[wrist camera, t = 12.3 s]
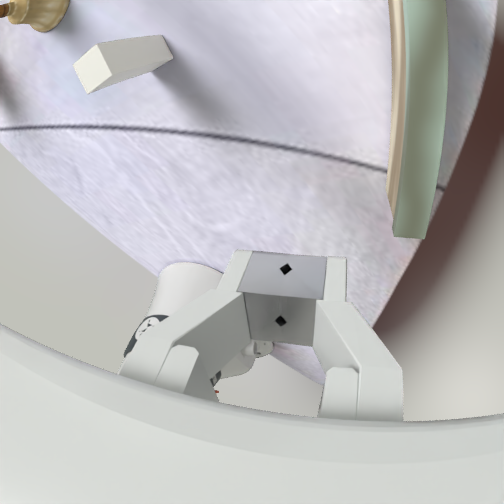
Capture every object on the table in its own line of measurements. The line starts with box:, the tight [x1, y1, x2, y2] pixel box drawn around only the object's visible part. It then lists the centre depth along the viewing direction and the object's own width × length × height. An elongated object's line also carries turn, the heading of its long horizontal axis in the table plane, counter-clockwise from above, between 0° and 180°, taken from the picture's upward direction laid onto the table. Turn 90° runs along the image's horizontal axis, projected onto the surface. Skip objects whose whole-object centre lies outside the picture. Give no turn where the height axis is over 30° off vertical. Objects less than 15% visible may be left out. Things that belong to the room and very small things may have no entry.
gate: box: [386, 0, 448, 239], centre depth 18 cm, size 3×21×8 cm, turn 6°
